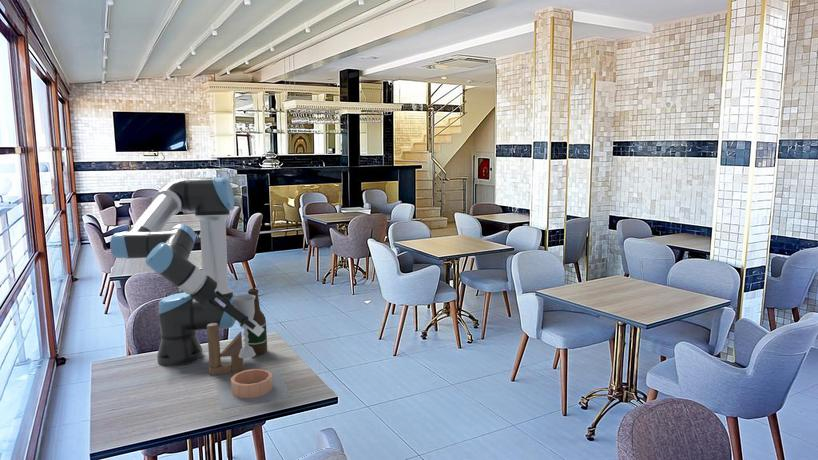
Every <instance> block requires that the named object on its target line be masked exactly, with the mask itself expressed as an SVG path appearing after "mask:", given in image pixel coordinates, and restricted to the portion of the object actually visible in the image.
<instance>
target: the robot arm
mask: <svg viewBox="0 0 818 460" xmlns="http://www.w3.org/2000/svg"><path fill="white" fill-rule="evenodd" d="M234 209H235V195H234V189H233V186H232V185H231V182H230V180H229V179H228V178H225V177H216V176H213V177H183V178H177V179H175V180H172V181H170V182H168V183H167V184H165V185H164V186H161V188H159V189H158V190H157V191H156V192H155V193H154V194H153V196H152V198H151V203H150V204H149V205H148V206H147V208H146V209H145V210H144V212H142V214H140V216H139V217H138V219H136V221H135V222H134V223H133V225H132V226H131V227H130V228H129V229H128V230H127V231H125V232H124V231H121V232H115V233H113V235H112V236H111V238H110V242H109V243H110V244H109V245H110V251H111V255H112V256H113V257H114V258H116V259H126V260H127V259H145V258H146V259H145V263H146V265H147V266H148V267H149V268H150V269H151V270H153V271H154V272H155V273H156V274H158V275H160V276H161V277H163V278H164V279H166V280H167V281H168V282H170V283H171V284H173V285H174V286H175V287H176V288H178V292H179V293H174V294H171V295H168V296H165V297H164V298H162V299H161V300H160V301H158V317H159V318H158V319H159V330H160V338H161V339H160V343H159V348H158V351H157V357H156V358H157V359H156V360H157V363H158V364H160V365H162V366H168V367H169V366H171V367H172V366H174V367H175V366H181V365H187V364H191V363H194V362H196V361H198V360H200V359H201V358H202V357H203V355H204V353H203V347H202V345H201V343H200V340H199V339H198V335H197V330H198V331H203V330H207V325H208V324H210V323H217V324H218V327H219V331H221V330H224V329H230V328H232V327H233V326H234V325H235V323H236V321H237V323H238V322H240V323H241V324H239V327H240V328H242V326H245V327H246V328H248V329H249V330H250V331H252V332H253V333H254V334H256V335H257V336H258V337H259V336H260V335H261V333H262V332H263V331H264V330H265V329H264V328H262V327H261V326H260V325H258V324H257V322H256V321H254V320H252V319H250V318H249V317H247V316H245V315H244V314H243V313H241V312H240V311H239V310H237V309H236V308H235V307H234V302H233V300H232V298H233V297H234V296H236V295H235V294H234V290H233V289H232V288H231V287H230V286H229V276H228V275H229V274H228V273H229V270H228V253H227V252H228V251H227V250H228V249H227V248H228V247H227V224H226V223H227V222H226V221H227V219H228V217H230V211H233V210H234ZM186 211H187V212H194V216H195V217H196V219H198V220H199V222H200V223H199V229H200V232H199V233H200V249H201V252H200V253H201V268H199V267H198V266H196V265H195V264H193V263H192V262H191V261H190V260H188V259H189V258H190V254H191V252H192V250H193V249H194V246H195V242H196V239H197V238H196V237H197V236H196V232H195V230H194V229H193V228H192V227H191V226H189V225H187V224H181V223H180V224H176V225H175V226H172V228H171V229H170V230H169V231H167V230H166V231H163V230H164V228H165V226H166V225H167V224H168V223H169V221H170V220H171V218H172V217H173V216H176V215H177V214H178V213H179V212H186Z"/></svg>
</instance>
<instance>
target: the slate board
mask: <svg viewBox="0 0 818 460" xmlns="http://www.w3.org/2000/svg"><path fill="white" fill-rule="evenodd" d="M271 373H272V378H273V388H272V390H271V391H270V392H269V393H267V394H265V395H262V396H259V397H254V398H239V397H236V396H234V395H232V390H231V379H228V380H223V381H222V380H221V381H216V382H215V385H216V392H217V397H218V399H219V400H218V401H219V406H220V410H227V409H231V408H237V407H242V406H248V405H254V404H258V403H259V404H260V403H264V402H270V401H275V400H281V399H282V400H283V399H286V398H292V395H291V392H290V391H289V388H288V387H287V385H286V382H285V380H284V378H283V376H282V374H281V372H280V371H276V372H271ZM253 383H258V382H253ZM247 384H252V383H247Z"/></svg>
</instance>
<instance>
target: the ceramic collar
mask: <svg viewBox="0 0 818 460" xmlns="http://www.w3.org/2000/svg"><path fill="white" fill-rule="evenodd" d="M272 373H273V372H271V371H270V370H267V369H264V368H263V369H262V368H261V369H260V368H251V369H246V370H243V371H242V372H236V373H235V374H234V375H232V377H230V380H231V390H232V395H234V396H236V397H239V398H254V397H259V396H262V395H265V394H267V393H269V392H270V391H271V390H272V388H273V378H272ZM253 382H258V383H253ZM247 383H252V384H247Z"/></svg>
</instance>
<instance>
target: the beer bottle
mask: <svg viewBox="0 0 818 460" xmlns="http://www.w3.org/2000/svg"><path fill="white" fill-rule="evenodd" d="M259 292H260V291H259V289H258V288H250V289H248V290H247V294H251V295H254V296H256V297H255V299H254V307H255V313H254V317H253V320H254V321H256V322H257V324H258V325H260V326H261V327H262V328H264V329H265V330H264V331H263V332H262V333H261V335H260V336H259V337H258V336H257V335H256V334H254V333H253V332H252V331H250V330H249V329H248V328H247V331H248V333H249V334H248V339H249V341H248V345H249V346H250V347H252V348H253V350H254V352H255V354H256V355H255V356H254V357H259V356H263V355H265V354H266V353H267V352H268V334H267V320H266V316H265V314H264V313H263V312H262V310H261V308H260V300H259Z"/></svg>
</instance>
